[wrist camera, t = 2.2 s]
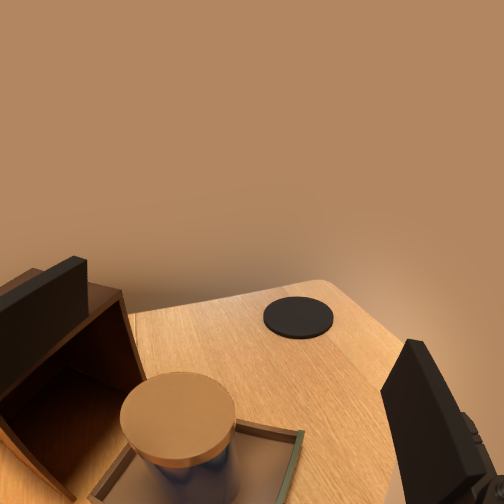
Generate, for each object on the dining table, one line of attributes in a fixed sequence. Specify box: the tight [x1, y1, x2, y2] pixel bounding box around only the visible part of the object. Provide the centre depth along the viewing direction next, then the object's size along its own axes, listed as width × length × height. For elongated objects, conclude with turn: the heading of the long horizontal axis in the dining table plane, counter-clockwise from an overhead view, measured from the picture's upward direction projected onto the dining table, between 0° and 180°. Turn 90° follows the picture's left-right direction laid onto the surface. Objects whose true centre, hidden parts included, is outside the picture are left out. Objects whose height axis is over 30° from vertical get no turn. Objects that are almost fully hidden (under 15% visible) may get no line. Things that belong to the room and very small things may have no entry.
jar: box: [120, 372, 241, 504], centre depth 20 cm, size 8×8×11 cm
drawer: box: [87, 419, 305, 504], centre depth 22 cm, size 15×15×3 cm
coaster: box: [263, 297, 333, 339], centre depth 48 cm, size 11×11×1 cm
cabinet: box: [0, 268, 147, 503], centre depth 25 cm, size 16×17×15 cm
